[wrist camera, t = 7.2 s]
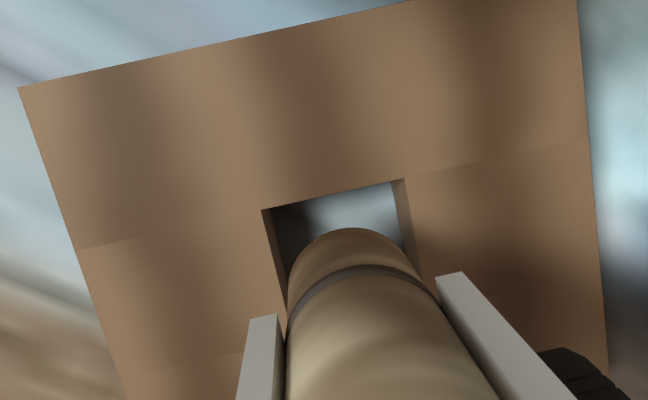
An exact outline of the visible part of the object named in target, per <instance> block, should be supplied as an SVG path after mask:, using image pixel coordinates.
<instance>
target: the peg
mask: <svg viewBox="0 0 648 400" xmlns="http://www.w3.org/2000/svg"><path fill="white" fill-rule="evenodd" d="M284 355H285V359H286V376H285V400H500V399H499V397H498V396H497V394H496V393H495V391H494V390H493V388H492V387H491V385H490V384H489V382H488V381H487V379H486V378H485V376H484V374H483V373H482V371H481V370H480V368H479V367H478V365H477V364H476V362H475V361H474V359H473V358H472V356H471V355H470V353H469V352H468V350H467V349H466V347H465V346H464V344H463V343H462V341H461V340H460V338H459V336H458V335H457V333H456V332H455V330H454V329H453V327H452V326H451V324H450V323H449V321H448V319H447V316H446V314H445V312H444V311H443V309H442V307H441V306H440V304H439V303H438V301H437V300H436V298H435V297H434V295H433V294H432V293H431V292H430V290H429V289H428V288H427V287H426V286H425V285H424V283H423V282H422V280H421V279H420V277H419V276H418V274H417V273H416V271H415V270H414V268H413V267H412V265H411V264H410V262H409V260H408V259H407V257H406V256H405V254H404V253H403V252H402V250H401V249H400V248H399V247H398V246H397V245H396V244H395V243H394V242H393V241H391V240H390V239H389V238H387V237H386V236H384V235H382V234H380V233H378V232H375V231H372V230H368V229H364V228H343V229H337V230H334V231H331V232H328V233H326V234H324V235H322V236H320V237H318V238H316V239H315V240H314V241H312V242H311V243H310V244H308V245H307V247H306V248H305V249H304V250H303V251H302V252H301V253H300V255H299V256H298V257H297V259H296V261H295V263H294V265H293V267H292V270H291V272H290V276H289V282H288V305H287V327H286V332H285V345H284Z"/></svg>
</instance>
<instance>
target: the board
mask: <svg viewBox="0 0 648 400" xmlns="http://www.w3.org/2000/svg"><path fill="white" fill-rule="evenodd" d="M17 89H18V92H19V95H20V97H21V100H22V103H23V106H24V109H25V112H26V114H27V117H28V120H29V123H30V126H31V129H32V131H33V134H34V137H35V140H36V143H37V146H38V148H39V151H40V154H41V157H42V160H43V163H44V165H45V168H46V171H47V174H48V177H49V180H50V182H51V185H52V188H53V191H54V194H55V197H56V199H57V202H58V205H59V208H60V211H61V213H62V216H63V219H64V222H65V225H66V228H67V230H68V233H69V236H70V239H71V242H72V245H73V247H74V250H75V253H76V256H77V259H78V262H79V264H80V267H81V270H82V273H83V276H84V279H85V281H86V284H87V287H88V290H89V293H90V296H91V298H92V301H93V304H94V307H95V310H96V313H97V315H98V318H99V321H100V324H101V327H102V329H103V332H104V335H105V338H106V341H107V344H108V346H109V349H110V352H111V355H112V358H113V361H114V363H115V366H116V369H117V372H118V375H119V378H120V380H121V383H122V386H123V389H124V392H125V395H126V397H127V400H235V399H236V394H237V388H238V383H239V377H240V372H241V367H242V361H243V356H244V350H245V345H246V340H247V334H248V329H249V323H250V319H253V318H257V317H262V316H266V315H271V314H275V313H277V314H278V318H279V322H280V326H281V329H282V333H283V337H284V341H285V332H286V327H287V305H288V278H287V274H286V270H285V266H284V262H283V258H282V254H281V250H280V246H279V242H278V238H277V234H276V230H275V226H274V222H273V218H272V214H271V210H270V208H272V207H276V206H281V205H285V204H290V203H294V202H299V201H303V200H308V199H312V198H317V197H321V196H325V195H330V194H334V193H339V192H343V191H348V190H352V189H357V188H361V187H366V186H370V185H375V184H379V183H384V182H388V181H391V184H392V189H393V194H394V200H395V205H396V210H397V216H398V221H399V226H400V232H401V237H402V242H403V248H404V253H405V256H406V257H407V259H408V260H409V262H410V264H411V265H412V267H413V268H414V270H415V271H416V273H417V274H418V276H419V277H420V279H421V280H422V282H423V283H424V285H425V286H426V287H427V288H428V289H429V290H430V292H431V293H432V294H433V295H434V297H435V298H436V300H437V301H438V303H439V298H438V292H437V287H436V281H435V277H439V276H443V275H447V274H452V273H456V272H461V271H462V272H463V273H464V274H465V276H466V277H467V278H468V279H469V280H470V281H471V282H472V283H473V284H474V285H475V287H476V288H477V289H478V290H479V291H480V292H481V293H482V294H483V295H484V297H485V298H486V299H487V300H488V301H489V302H490V303H491V304H492V305H493V307H494V308H495V309H496V310H497V311H498V312H499V313H500V314H501V315H502V316H503V318H504V319H505V320H506V321H507V322H508V323H509V324H510V325H511V326H512V328H513V329H514V330H515V331H516V332H517V333H518V334H519V335H520V336H521V338H522V339H523V340H524V341H525V342H526V343H527V344H528V345H529V346H530V347H531V349H532V350H533V351H534V352H535V353H538V352H542V351H547V350H551V349H555V348H560V347H564V348H567V349H569V350H571V351H573V352H575V353H577V354H580V355H582V356H584V357H586V358H587V359H588V360H589V361H590V362H591V363H592V364H593V365H594V366H596V367H597V368H598V369H599V370H600V371H601V372H602V375H605V376H606V377H607V378H608V379H610V371H609V360H608V349H607V338H606V326H605V315H604V304H603V293H602V282H601V270H600V259H599V248H598V237H597V225H596V214H595V203H594V192H593V181H592V169H591V158H590V147H589V136H588V125H587V113H586V102H585V91H584V80H583V68H582V57H581V46H580V35H579V24H578V12H577V1H576V0H410V1H406V2H401V3H397V4H392V5H387V6H383V7H378V8H374V9H369V10H365V11H360V12H356V13H351V14H347V15H342V16H338V17H333V18H329V19H324V20H320V21H315V22H311V23H306V24H302V25H297V26H293V27H288V28H284V29H279V30H275V31H270V32H266V33H261V34H257V35H252V36H248V37H243V38H238V39H234V40H229V41H225V42H220V43H216V44H211V45H207V46H202V47H198V48H193V49H189V50H184V51H180V52H175V53H171V54H166V55H162V56H157V57H153V58H148V59H144V60H139V61H135V62H130V63H126V64H121V65H117V66H112V67H108V68H103V69H99V70H94V71H90V72H85V73H80V74H76V75H71V76H67V77H62V78H58V79H53V80H49V81H44V82H40V83H35V84H31V85H26V86H22V87H17Z"/></svg>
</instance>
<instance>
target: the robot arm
mask: <svg viewBox="0 0 648 400" xmlns="http://www.w3.org/2000/svg"><path fill="white" fill-rule="evenodd" d="M435 281H436V287H437V292H438V298H439V304H440V306H441V307H442V309H443V311H444V312H445V314H446V316H447V319H448V321H449V323H450V324H451V326H452V327H453V329H454V330H455V332H456V333H457V335H458V336H459V338H460V340H461V341H462V343H463V344H464V346H465V347H466V349H467V350H468V352H469V353H470V355H471V356H472V358H473V359H474V361H475V362H476V364H477V365H478V367H479V368H480V370H481V371H482V373H483V374H484V376H485V378H486V379H487V381H488V382H489V384H490V385H491V387H492V388H493V390H494V391H495V393H496V394H497V396H498V397H499V399H500V400H631V399H630V398H629V397H628V396H627V395H626V394H625V393H623V392H622V391H621V390H620V389H619V388H616V386H615V384H614V383H613V382H612V381H611V380H610V379H608V378H607V377H606V376H605V375H602V372H601V371H600V370H599V369H598V368H597V367H596V366H594V365H593V364H592V363H591V362H590V361H589V360H588V359H587V358H586V357H584V356H582V355H580V354H577V353H575V352H573V351H571V350H569V349H567V348H564V347H560V348H555V349H551V350H547V351H542V352H538V353H535V352H534V351H533V350H532V349H531V347H530V346H529V345H528V344H527V343H526V342H525V341H524V340H523V339H522V338H521V336H520V335H519V334H518V333H517V332H516V331H515V330H514V329H513V328H512V326H511V325H510V324H509V323H508V322H507V321H506V320H505V319H504V318H503V316H502V315H501V314H500V313H499V312H498V311H497V310H496V309H495V308H494V307H493V305H492V304H491V303H490V302H489V301H488V300H487V299H486V298H485V297H484V295H483V294H482V293H481V292H480V291H479V290H478V289H477V288H476V287H475V285H474V284H473V283H472V282H471V281H470V280H469V279H468V278H467V277H466V276H465V274H464V273H463V272H462V271H461V272H456V273H452V274H447V275H443V276H439V277H435ZM284 345H285V341H284V337H283V333H282V329H281V326H280V322H279V318H278V314H277V313H275V314H271V315H266V316H262V317H257V318H253V319H250V323H249V329H248V334H247V340H246V345H245V350H244V356H243V361H242V367H241V372H240V377H239V383H238V388H237V394H236V399H235V400H285V376H286V359H285V355H284Z"/></svg>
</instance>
